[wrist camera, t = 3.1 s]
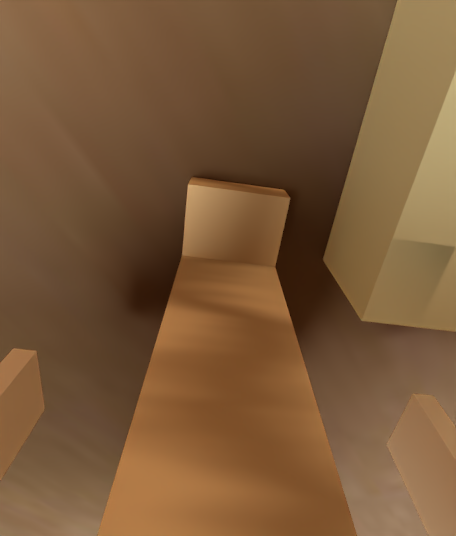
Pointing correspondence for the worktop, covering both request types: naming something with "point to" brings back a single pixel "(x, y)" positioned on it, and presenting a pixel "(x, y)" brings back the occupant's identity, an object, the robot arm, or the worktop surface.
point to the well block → (404, 180)
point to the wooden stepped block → (227, 392)
